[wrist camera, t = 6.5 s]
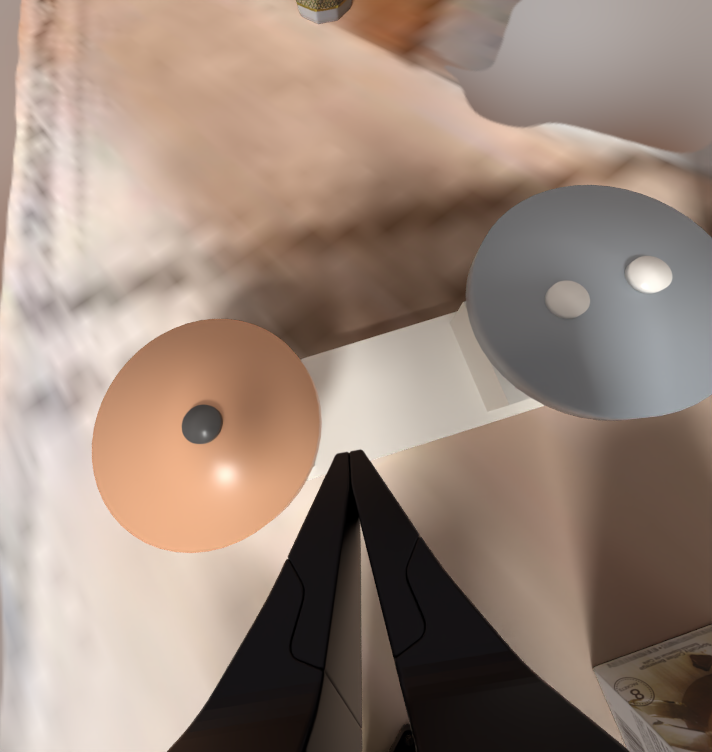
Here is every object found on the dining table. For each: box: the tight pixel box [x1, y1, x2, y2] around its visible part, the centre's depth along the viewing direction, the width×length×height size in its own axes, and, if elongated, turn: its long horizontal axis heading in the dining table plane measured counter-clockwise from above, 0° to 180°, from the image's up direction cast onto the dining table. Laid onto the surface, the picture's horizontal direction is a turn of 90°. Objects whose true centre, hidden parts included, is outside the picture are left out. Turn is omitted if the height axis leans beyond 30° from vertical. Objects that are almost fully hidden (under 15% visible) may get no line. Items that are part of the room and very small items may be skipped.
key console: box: [300, 301, 545, 481], centre depth 21 cm, size 34×9×5 cm, turn 107°
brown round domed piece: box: [92, 319, 322, 553], centre depth 18 cm, size 12×12×6 cm
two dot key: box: [466, 185, 712, 421], centre depth 16 cm, size 12×12×6 cm
